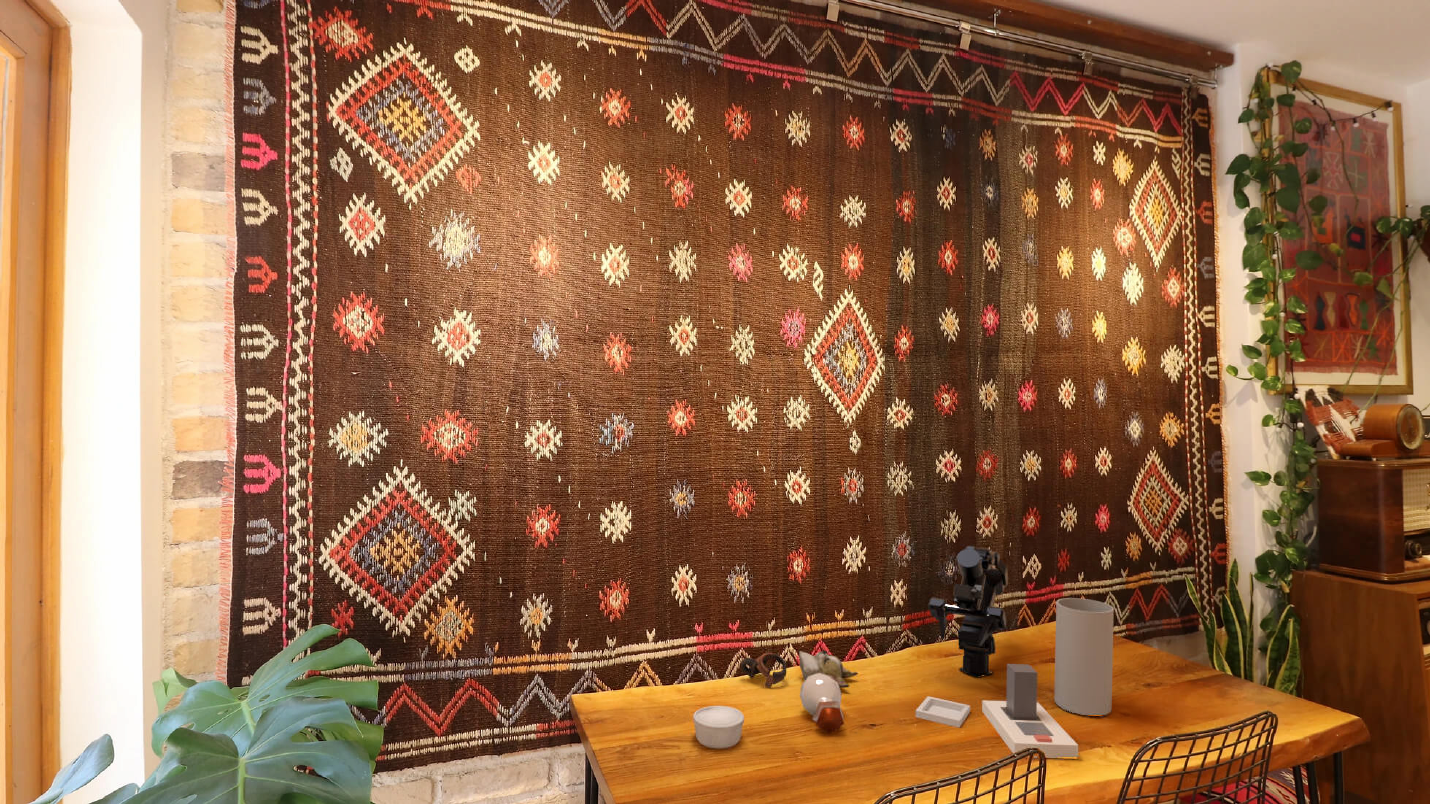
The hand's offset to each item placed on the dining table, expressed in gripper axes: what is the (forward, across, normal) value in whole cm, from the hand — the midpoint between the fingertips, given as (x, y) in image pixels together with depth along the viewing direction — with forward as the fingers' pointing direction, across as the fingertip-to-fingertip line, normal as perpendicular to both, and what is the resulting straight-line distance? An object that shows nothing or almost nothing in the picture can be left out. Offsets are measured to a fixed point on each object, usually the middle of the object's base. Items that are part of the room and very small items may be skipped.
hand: (960, 641), depth 190 cm
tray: (+20, 0, -1) cm, 20 cm away
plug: (+17, +16, +2) cm, 23 cm away
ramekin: (+48, -38, -28) cm, 67 cm away
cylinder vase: (+3, +27, +17) cm, 32 cm away
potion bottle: (+32, -23, -13) cm, 42 cm away
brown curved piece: (+23, -46, -4) cm, 51 cm away
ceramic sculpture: (+18, -32, +2) cm, 36 cm away
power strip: (+19, +18, 0) cm, 27 cm away
